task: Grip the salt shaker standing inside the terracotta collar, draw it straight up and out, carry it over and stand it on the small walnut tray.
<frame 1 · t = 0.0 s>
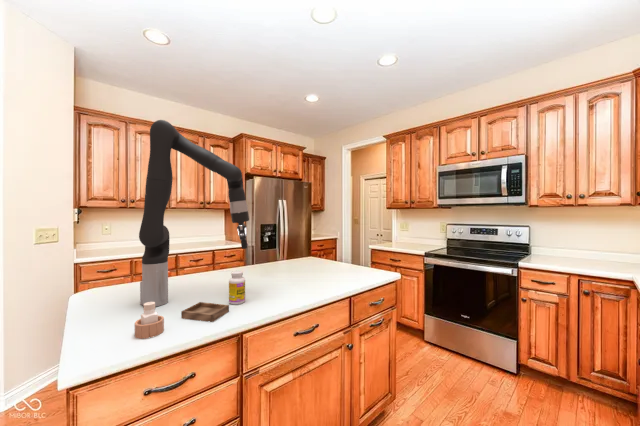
hand: (244, 247, 121), 22 cm above the worktop, tool pointing down, fingers open, 8 cm apart
tray: (205, 314, 101), on the worktop
salt shaker: (149, 333, 86), resting in collar
supplement bottle: (237, 302, 114), on the worktop
collar: (149, 332, 86), on the worktop
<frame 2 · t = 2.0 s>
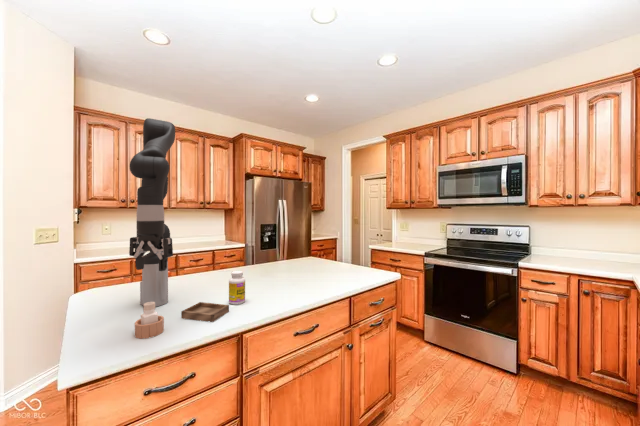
hand: (151, 270, 86), 20 cm above the worktop, tool pointing down, fingers open, 8 cm apart
nothing on the worktop moved.
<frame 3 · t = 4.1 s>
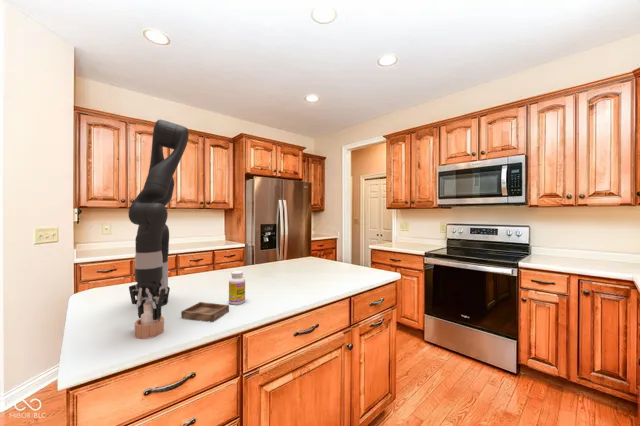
hand: (149, 318, 86), 5 cm above the worktop, tool pointing down, fingers closed on salt shaker, 5 cm apart
salt shaker: (149, 333, 86), resting in collar, touching gripper
everything else where it was.
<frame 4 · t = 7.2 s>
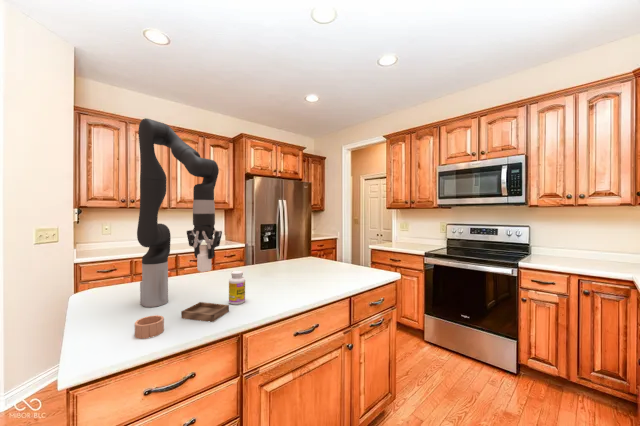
hand: (204, 258, 100), 21 cm above the worktop, tool pointing down, fingers closed on salt shaker, 5 cm apart
salt shaker: (204, 271, 100), point 16 cm above the worktop, touching gripper
everything else where it was.
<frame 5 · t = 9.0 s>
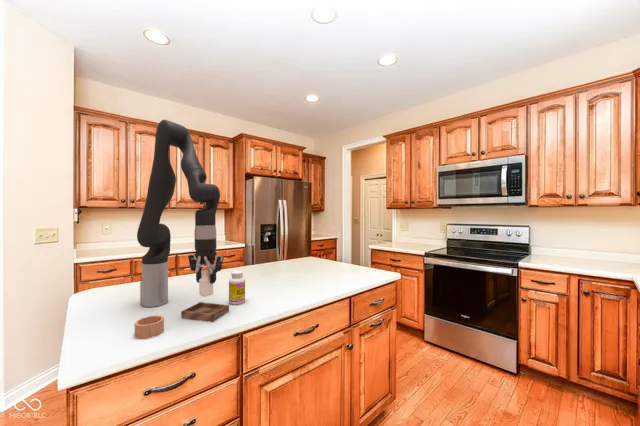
hand: (206, 282, 101), 12 cm above the worktop, tool pointing down, fingers closed on salt shaker, 5 cm apart
salt shaker: (206, 295, 101), point 7 cm above the worktop, touching gripper
everything else where it was.
when the fingers open (7 cm above the worktop, at t = 10.5 s): salt shaker drops 1 cm, resting on tray.
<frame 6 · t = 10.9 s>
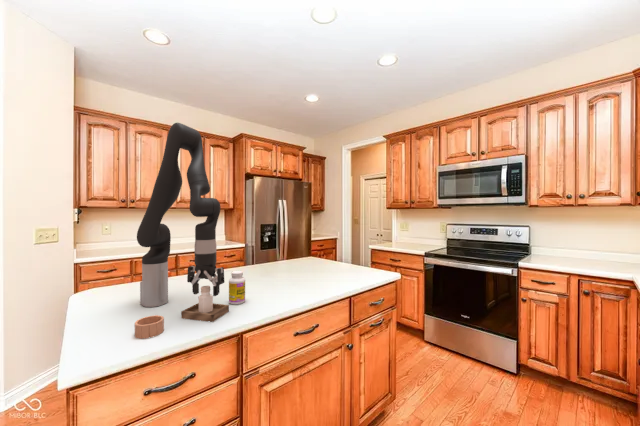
hand: (205, 294, 101), 8 cm above the worktop, tool pointing down, fingers open, 8 cm apart
salt shaker: (205, 312, 101), point 1 cm above the worktop, touching tray
everything else where it was.
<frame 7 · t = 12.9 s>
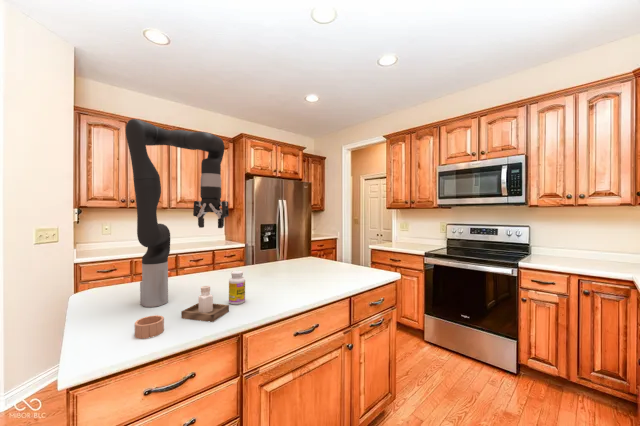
hand: (210, 227, 105), 32 cm above the worktop, tool pointing down, fingers open, 8 cm apart
nothing on the worktop moved.
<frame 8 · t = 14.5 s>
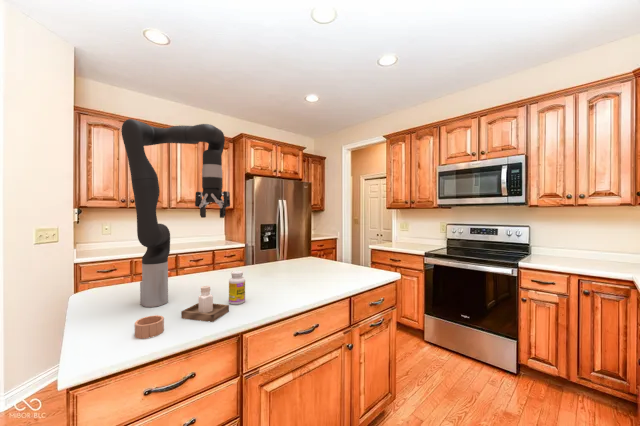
hand: (212, 217, 107), 36 cm above the worktop, tool pointing down, fingers open, 8 cm apart
nothing on the worktop moved.
at the end: salt shaker inside the target area on the tray (0.1 cm from its centre), point 0.8 cm above the tray's base; salt shaker tilted 0°; the gripper is holding nothing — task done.
